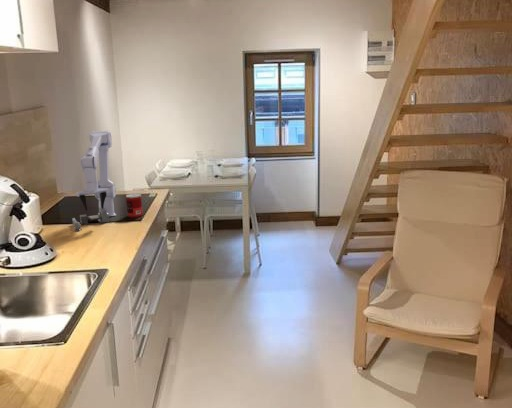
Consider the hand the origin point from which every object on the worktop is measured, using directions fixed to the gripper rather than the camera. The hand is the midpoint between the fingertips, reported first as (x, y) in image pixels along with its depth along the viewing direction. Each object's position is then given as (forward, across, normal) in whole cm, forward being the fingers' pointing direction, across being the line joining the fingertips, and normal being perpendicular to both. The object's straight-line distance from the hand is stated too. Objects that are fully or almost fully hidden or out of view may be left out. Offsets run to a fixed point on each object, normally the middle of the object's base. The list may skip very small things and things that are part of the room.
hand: (94, 209), depth 252 cm
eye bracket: (+9, +5, +8) cm, 13 cm away
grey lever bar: (+8, -9, +4) cm, 13 cm away
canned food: (+9, +22, +10) cm, 26 cm away
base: (+9, -9, -2) cm, 13 cm away
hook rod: (+9, +1, +8) cm, 12 cm away
